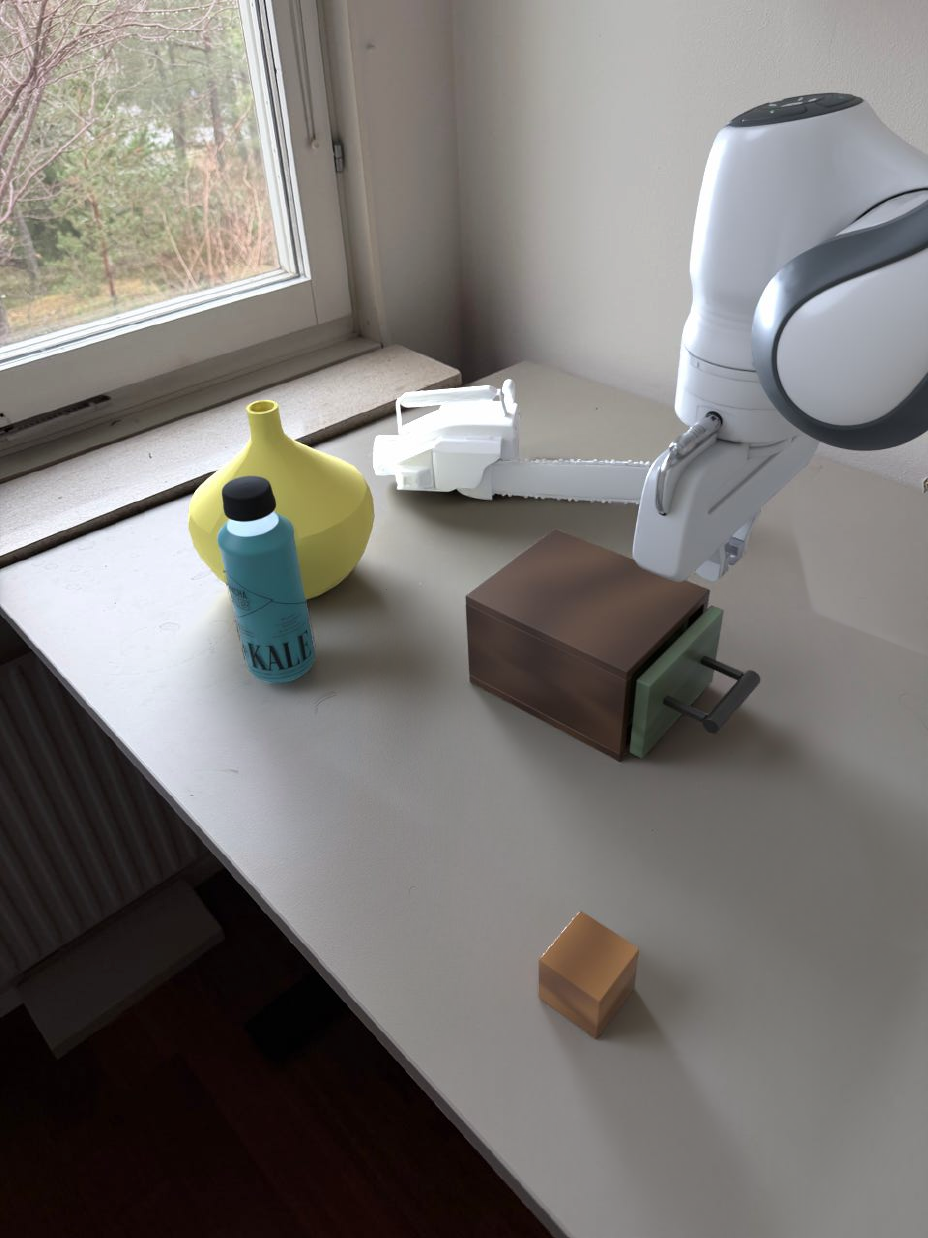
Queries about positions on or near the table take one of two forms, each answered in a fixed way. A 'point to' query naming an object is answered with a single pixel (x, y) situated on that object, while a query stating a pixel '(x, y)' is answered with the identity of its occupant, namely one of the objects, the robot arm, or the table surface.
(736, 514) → the robot arm
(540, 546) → the cabinet
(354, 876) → the table surface
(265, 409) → the vase
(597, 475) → the chainsaw
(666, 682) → the drawer
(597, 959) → the block
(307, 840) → the table surface
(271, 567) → the beverage bottle
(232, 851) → the table surface
